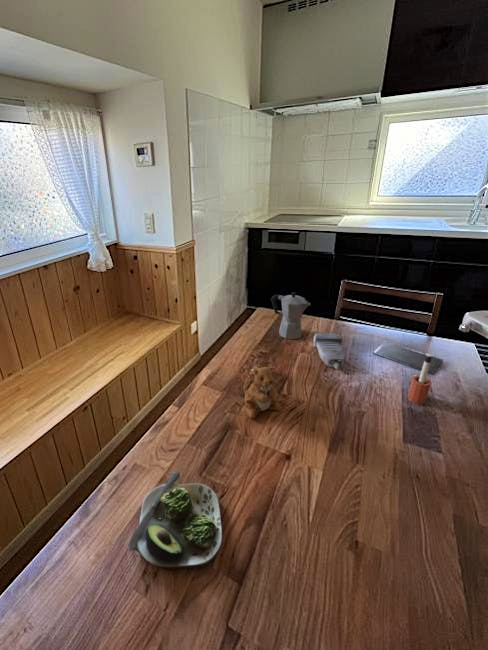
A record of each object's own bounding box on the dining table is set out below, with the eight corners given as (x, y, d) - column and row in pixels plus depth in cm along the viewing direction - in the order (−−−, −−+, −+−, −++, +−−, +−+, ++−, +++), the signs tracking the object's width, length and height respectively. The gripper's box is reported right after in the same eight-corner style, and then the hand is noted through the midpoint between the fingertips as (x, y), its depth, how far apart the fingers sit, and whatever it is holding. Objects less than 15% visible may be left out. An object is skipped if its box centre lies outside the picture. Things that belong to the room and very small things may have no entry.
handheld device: (322, 372, 110) (324, 360, 109) (310, 341, 129) (311, 330, 127) (353, 373, 109) (355, 361, 107) (336, 342, 127) (338, 331, 125)
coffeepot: (310, 333, 134) (315, 291, 127) (302, 343, 127) (306, 300, 120) (274, 323, 143) (276, 284, 135) (264, 333, 136) (266, 292, 129)
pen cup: (427, 399, 97) (433, 380, 94) (422, 407, 94) (428, 387, 91) (410, 392, 100) (415, 373, 97) (405, 400, 97) (410, 380, 94)
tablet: (441, 361, 113) (442, 359, 112) (432, 376, 106) (432, 373, 106) (384, 342, 125) (384, 340, 125) (372, 354, 118) (372, 352, 118)
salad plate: (142, 477, 78) (139, 462, 76) (218, 476, 77) (218, 461, 76) (125, 571, 61) (122, 556, 59) (224, 571, 60) (224, 556, 58)
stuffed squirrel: (250, 421, 92) (252, 382, 87) (234, 389, 105) (234, 354, 100) (284, 415, 94) (287, 376, 89) (264, 384, 107) (266, 349, 101)
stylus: (420, 398, 96) (433, 354, 90) (418, 401, 96) (431, 356, 89) (414, 396, 97) (427, 352, 91) (412, 398, 97) (425, 354, 90)
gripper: (562, 363, 82) (510, 369, 81) (486, 324, 101) (443, 329, 100) (573, 341, 80) (519, 346, 79) (493, 305, 98) (449, 310, 97)
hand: (476, 336), depth 89 cm, fingers open, 8 cm apart
